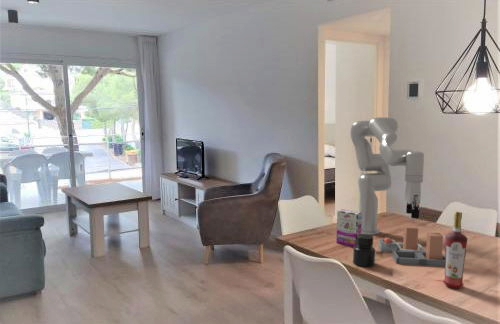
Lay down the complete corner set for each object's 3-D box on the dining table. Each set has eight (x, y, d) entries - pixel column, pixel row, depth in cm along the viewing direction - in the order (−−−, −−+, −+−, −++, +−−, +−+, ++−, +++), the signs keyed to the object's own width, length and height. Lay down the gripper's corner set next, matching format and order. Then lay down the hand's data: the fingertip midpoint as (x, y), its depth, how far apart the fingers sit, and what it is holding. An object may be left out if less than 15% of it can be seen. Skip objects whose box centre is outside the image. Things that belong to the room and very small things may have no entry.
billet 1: (405, 253, 194) (406, 227, 192) (402, 250, 199) (404, 225, 197) (416, 254, 193) (418, 228, 192) (414, 250, 198) (415, 225, 196)
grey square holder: (380, 252, 194) (381, 243, 194) (378, 248, 201) (378, 238, 201) (396, 253, 193) (397, 244, 193) (393, 248, 200) (394, 239, 200)
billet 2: (428, 263, 179) (430, 235, 177) (425, 259, 184) (427, 232, 182) (441, 264, 178) (442, 236, 177) (437, 259, 183) (439, 233, 182)
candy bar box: (361, 245, 204) (363, 212, 202) (356, 248, 201) (357, 214, 199) (341, 240, 212) (342, 208, 210) (335, 243, 208) (337, 210, 206)
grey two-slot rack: (396, 265, 178) (397, 258, 178) (392, 257, 188) (392, 250, 188) (449, 268, 175) (449, 260, 175) (441, 260, 185) (442, 253, 185)
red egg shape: (384, 248, 196) (385, 239, 195) (383, 246, 199) (384, 237, 198) (391, 249, 195) (391, 239, 195) (390, 247, 198) (390, 237, 198)
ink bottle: (379, 265, 179) (381, 237, 177) (365, 269, 174) (366, 240, 172) (362, 258, 187) (363, 231, 185) (347, 262, 182) (348, 235, 180)
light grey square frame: (399, 255, 191) (400, 249, 191) (395, 247, 202) (395, 242, 202) (425, 256, 190) (425, 251, 189) (419, 248, 200) (419, 243, 200)
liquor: (442, 288, 155) (447, 213, 152) (441, 281, 162) (446, 209, 159) (465, 291, 153) (470, 215, 149) (462, 284, 160) (468, 211, 156)
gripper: (401, 175, 201) (399, 211, 202) (409, 181, 184) (408, 219, 185) (417, 176, 200) (416, 211, 201) (427, 181, 182) (426, 220, 184)
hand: (412, 215), depth 193 cm, fingers open, 9 cm apart
